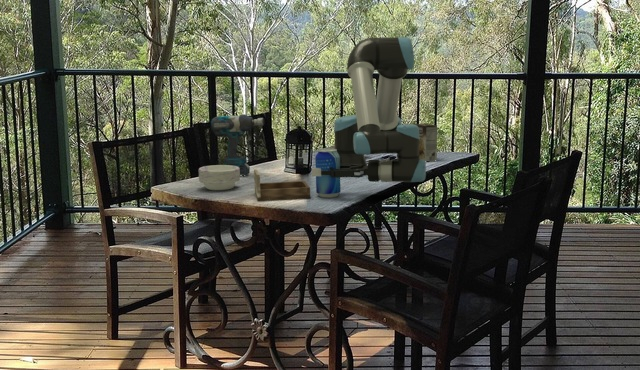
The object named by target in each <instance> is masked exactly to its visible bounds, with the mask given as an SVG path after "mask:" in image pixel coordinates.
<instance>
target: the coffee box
mask: <svg viewBox="0 0 640 370" xmlns="http://www.w3.org/2000/svg"><path fill="white" fill-rule="evenodd" d="M413 125H417V126H418V128H419V138H420V139H419V157H420V159H421V160H424V161H433V162H436V161H435V160H438V159H437V158H438V154H437V153H438V125H437V124H431V123H415V124H414V123H413Z"/></svg>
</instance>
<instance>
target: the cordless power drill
mask: <svg viewBox="0 0 640 370" xmlns="http://www.w3.org/2000/svg"><path fill="white" fill-rule="evenodd" d="M264 125H265V118H264V117H258V118H257V119H256V118H255V119H254V118H253V117H252V116H249V115H247V114H243V113H242V114H239V115H221V116H214V117H213V118H212V119H211V120H210V127H211V131H212V132H213V134H214V136H216V137H217V138H221V137H227V138H228V140H227V155H226V156H225V157H224V158H223V159H224V160H223V165H231V166H237V167H239V168H240V175H242V176H243V177H245V176H244V175H246V176H247V175H249V174H250V169H251V168H250V165H249V164H248V163H247V158H245V157H244V156H239V155H238V154H237V149H238V145H239V142H241V141H242V135H245V133H246V132H248V131H250V130H252V129H254V127H259V128H262V127H263V126H264Z"/></svg>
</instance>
